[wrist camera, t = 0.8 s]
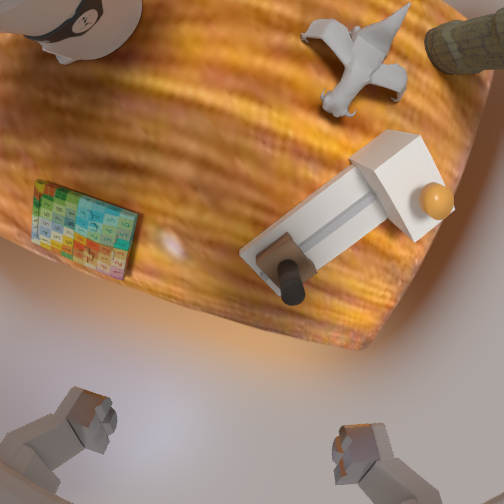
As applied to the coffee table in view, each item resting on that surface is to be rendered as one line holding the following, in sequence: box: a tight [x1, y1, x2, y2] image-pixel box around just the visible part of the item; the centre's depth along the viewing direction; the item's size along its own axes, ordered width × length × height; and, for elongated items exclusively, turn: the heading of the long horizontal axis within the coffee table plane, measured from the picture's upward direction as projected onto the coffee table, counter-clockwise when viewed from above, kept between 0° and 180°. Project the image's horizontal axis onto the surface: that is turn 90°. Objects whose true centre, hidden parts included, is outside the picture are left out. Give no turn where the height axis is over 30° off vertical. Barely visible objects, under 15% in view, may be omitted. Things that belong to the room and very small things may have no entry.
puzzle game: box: [32, 179, 138, 280], centre depth 43 cm, size 12×5×20 cm
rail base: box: [239, 129, 455, 297], centre depth 41 cm, size 13×30×10 cm, turn 130°
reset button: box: [419, 182, 454, 220], centre depth 29 cm, size 4×4×2 cm
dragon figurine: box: [301, 3, 411, 117], centre depth 31 cm, size 15×15×9 cm
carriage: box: [256, 232, 317, 306], centre depth 41 cm, size 7×6×10 cm
